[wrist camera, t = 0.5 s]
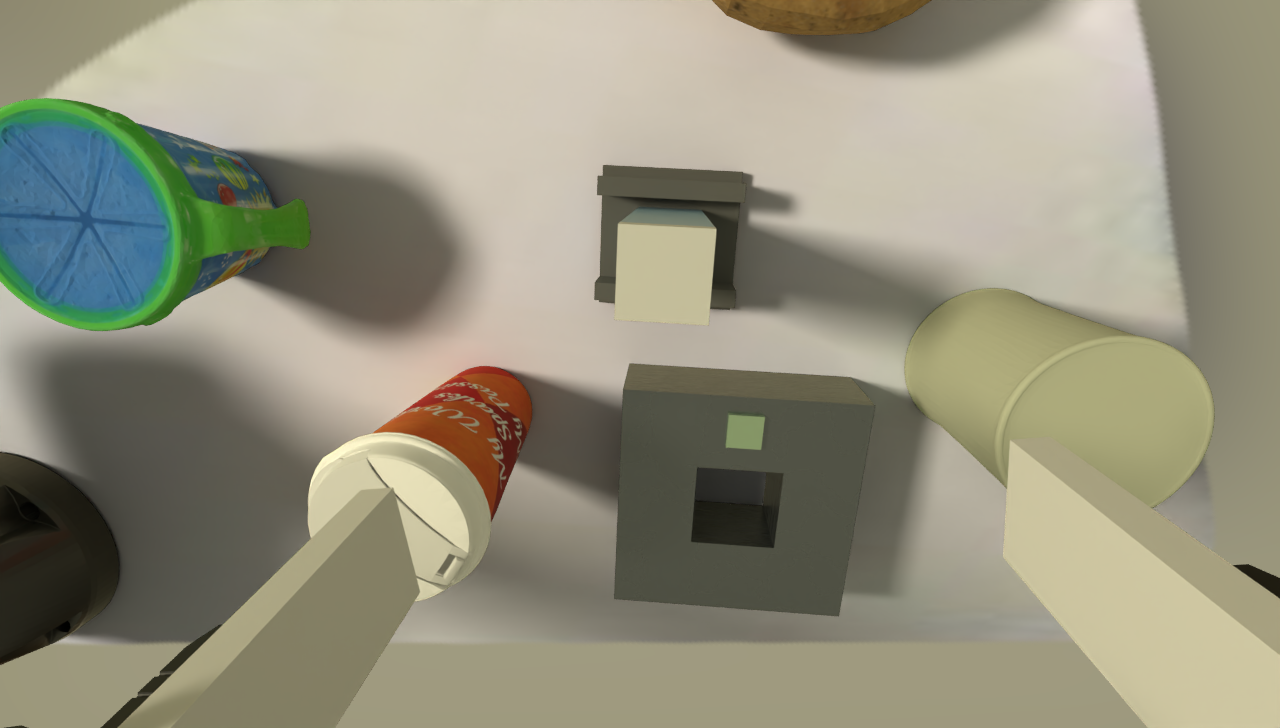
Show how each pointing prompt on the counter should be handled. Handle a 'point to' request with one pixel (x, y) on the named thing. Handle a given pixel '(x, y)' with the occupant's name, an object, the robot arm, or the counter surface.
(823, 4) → the potato
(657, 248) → the plug
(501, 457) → the coffee cup
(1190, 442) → the can
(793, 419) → the port
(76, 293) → the snack cup
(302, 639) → the robot arm
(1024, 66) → the counter surface
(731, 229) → the dark grey bridge bracket
